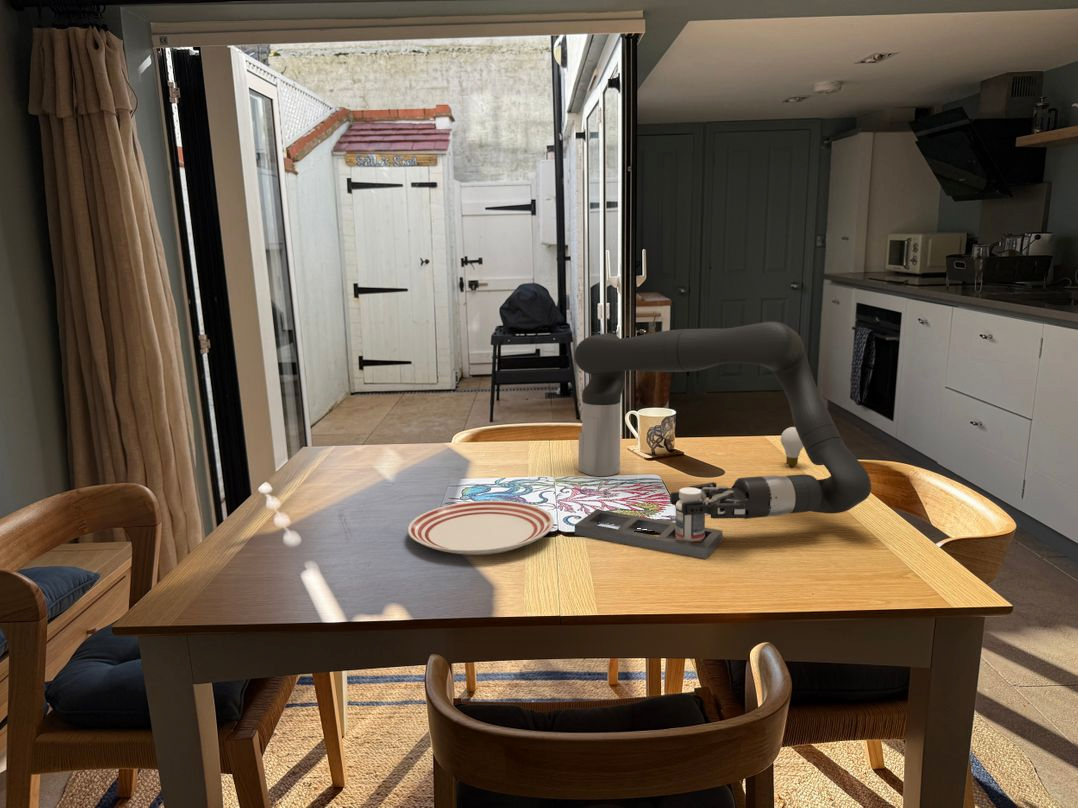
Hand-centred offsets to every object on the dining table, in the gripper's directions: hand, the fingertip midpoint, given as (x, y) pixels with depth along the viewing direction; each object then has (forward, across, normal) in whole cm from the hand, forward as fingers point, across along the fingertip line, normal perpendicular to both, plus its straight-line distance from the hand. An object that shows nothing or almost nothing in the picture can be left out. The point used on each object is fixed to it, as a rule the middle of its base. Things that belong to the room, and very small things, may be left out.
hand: (676, 503), depth 143 cm
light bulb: (-46, -43, +9) cm, 64 cm away
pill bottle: (-3, 0, +7) cm, 7 cm away
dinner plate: (+34, -12, +8) cm, 37 cm away
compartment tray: (+4, -5, +8) cm, 10 cm away
